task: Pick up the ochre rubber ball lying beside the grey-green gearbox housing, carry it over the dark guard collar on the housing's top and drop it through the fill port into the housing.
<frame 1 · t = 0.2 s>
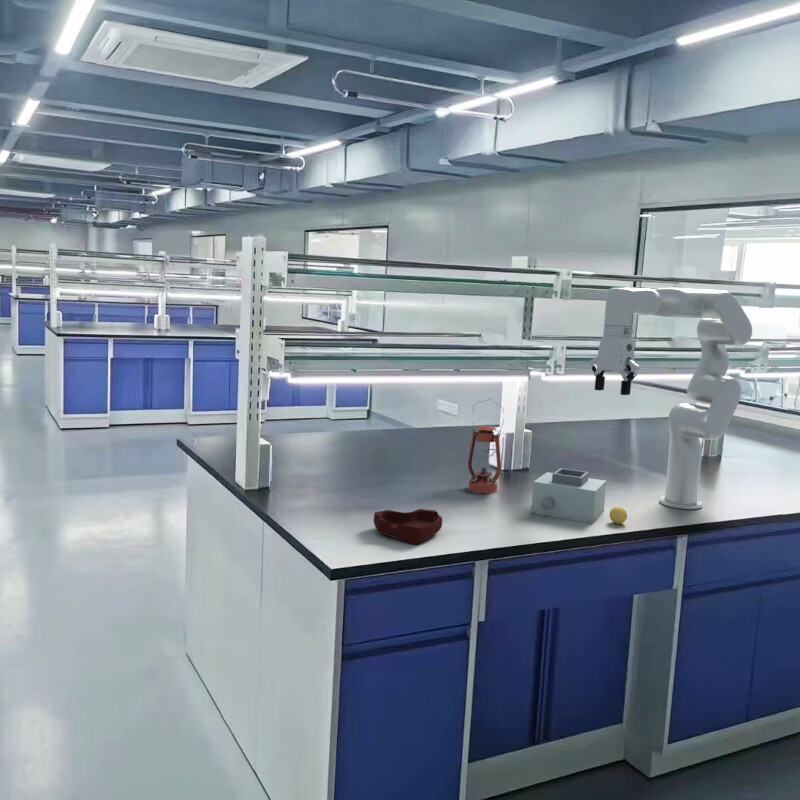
hand: (611, 392, 221), 36 cm above the countertop, tool pointing down, fingers open, 9 cm apart
housing: (568, 512, 230), on the countertop
lantern: (483, 490, 251), on the countertop
ball: (618, 515, 220), point 2 cm above the countertop
ashtray: (410, 537, 203), on the countertop
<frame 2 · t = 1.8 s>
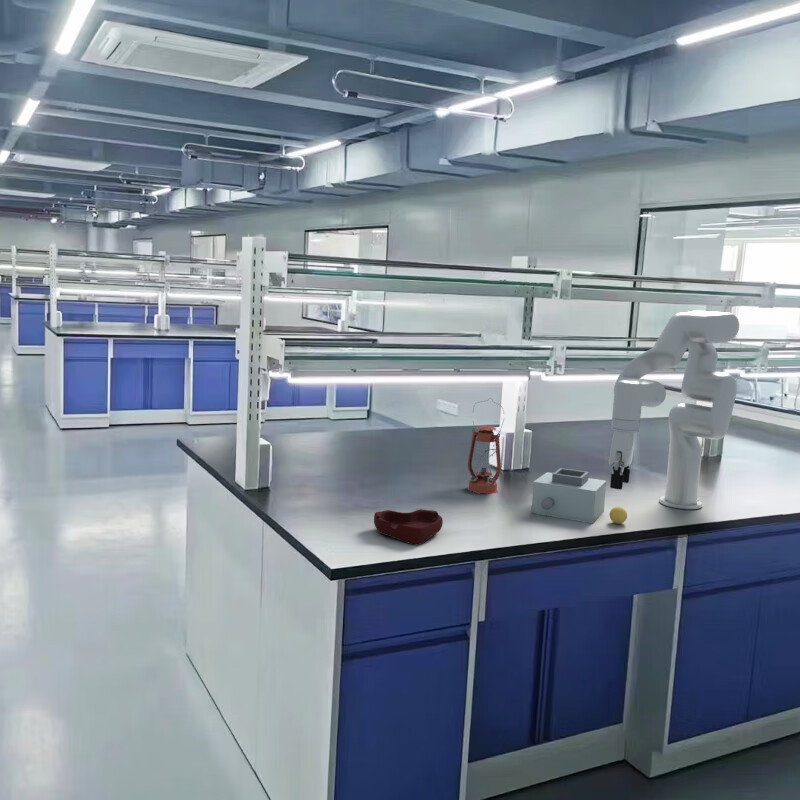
hand: (619, 485, 218), 11 cm above the countertop, tool pointing down, fingers open, 9 cm apart
nothing on the countertop moved.
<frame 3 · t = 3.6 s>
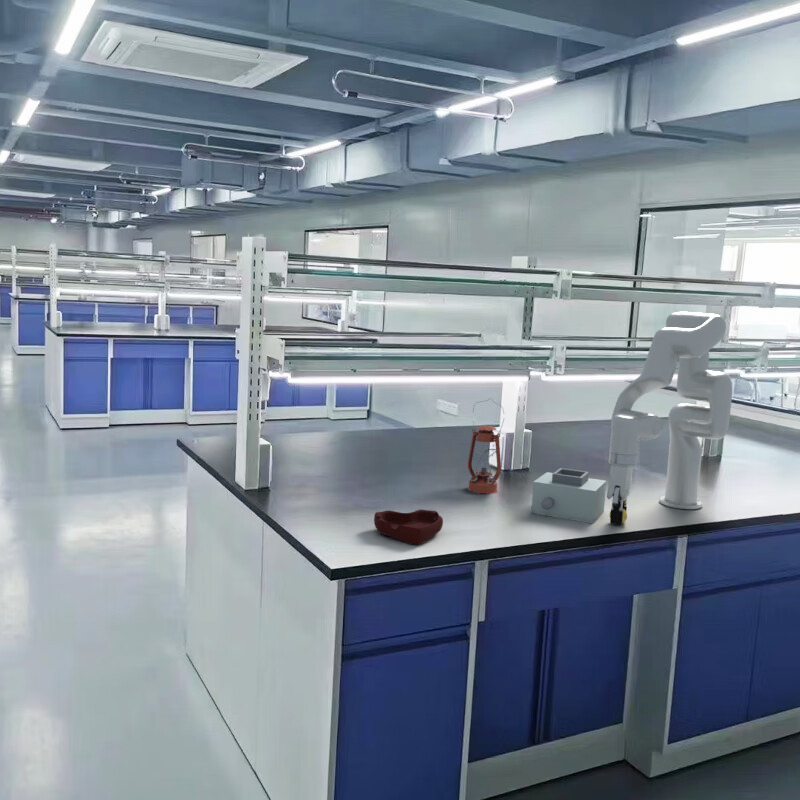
hand: (617, 521, 220), 1 cm above the countertop, tool pointing down, fingers closed on ball, 4 cm apart
ball: (618, 515, 220), point 2 cm above the countertop, touching gripper
everything else where it was.
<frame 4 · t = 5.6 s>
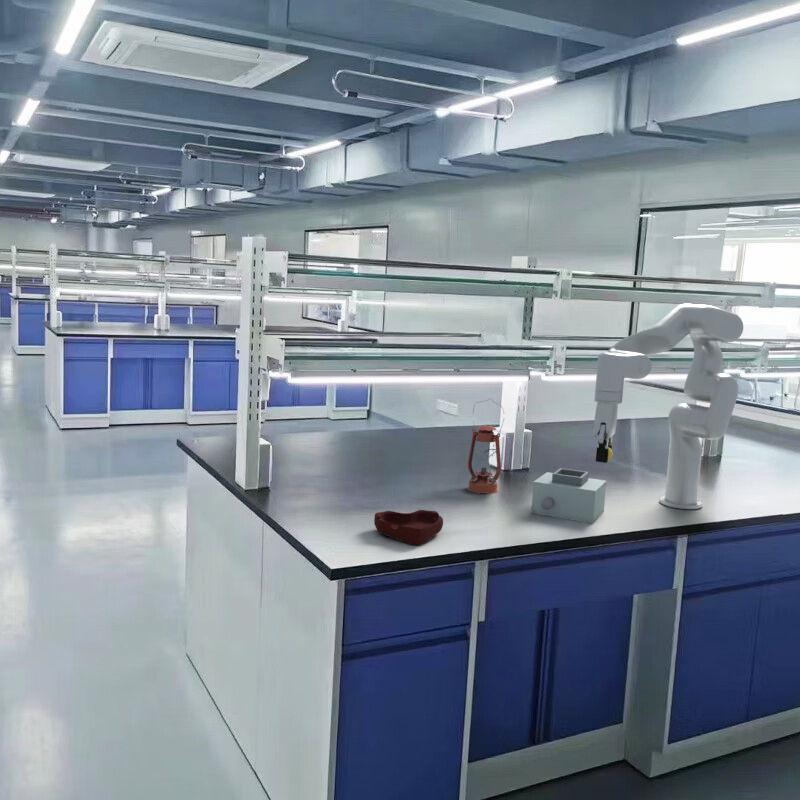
hand: (603, 459, 221), 18 cm above the countertop, tool pointing down, fingers closed on ball, 4 cm apart
ball: (603, 453, 221), point 19 cm above the countertop, touching gripper
everything else where it was.
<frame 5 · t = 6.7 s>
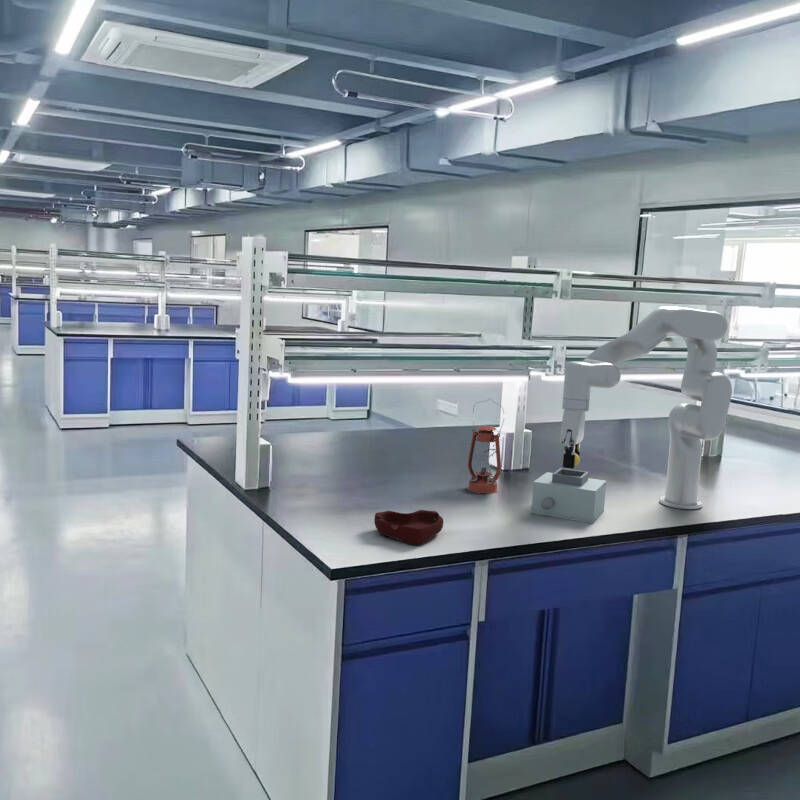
hand: (570, 465, 227), 14 cm above the countertop, tool pointing down, fingers closed on ball, 4 cm apart
ball: (571, 459, 227), point 16 cm above the countertop, touching gripper
everything else where it was.
when the fingers open (13 cm above the countertop, at t = 7.5 s): ball drops 12 cm, resting on housing.
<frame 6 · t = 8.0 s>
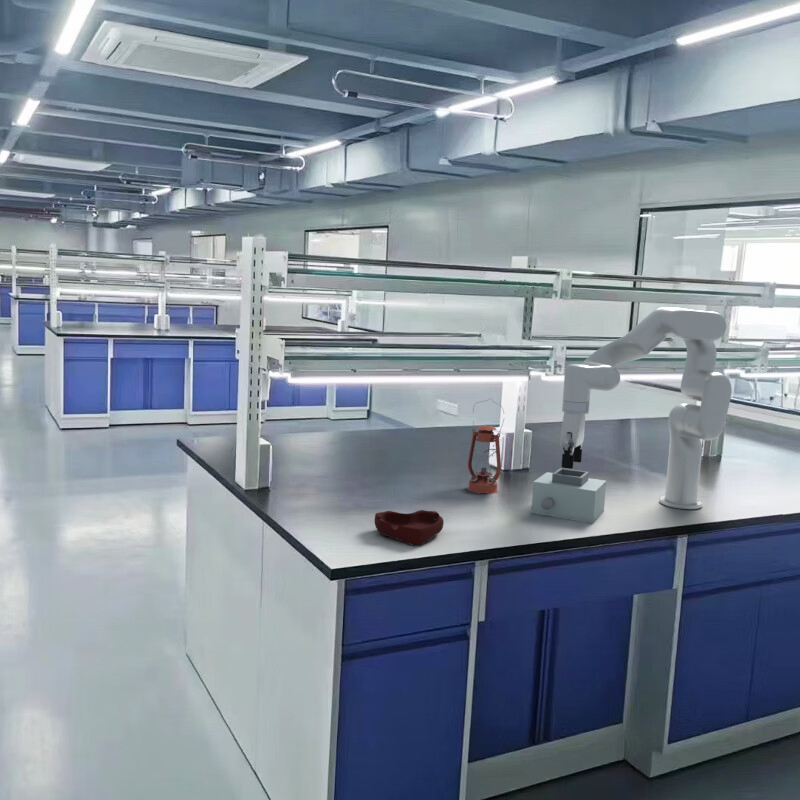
hand: (571, 464, 227), 14 cm above the countertop, tool pointing down, fingers open, 9 cm apart
ball: (568, 501, 229), point 3 cm above the countertop, touching housing
everything else where it was.
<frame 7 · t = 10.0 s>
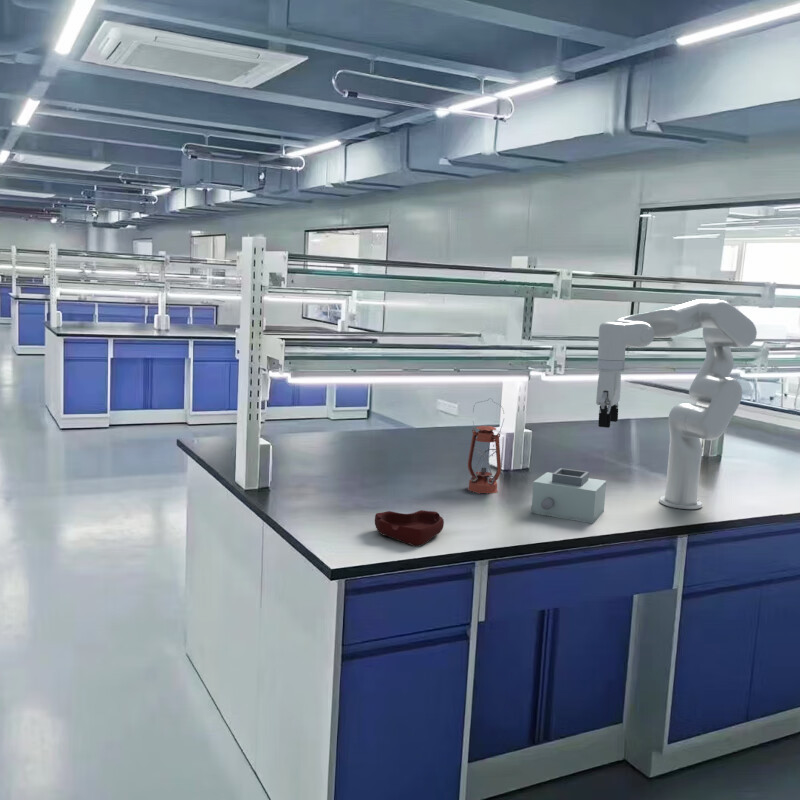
hand: (608, 424, 226), 27 cm above the countertop, tool pointing down, fingers open, 9 cm apart
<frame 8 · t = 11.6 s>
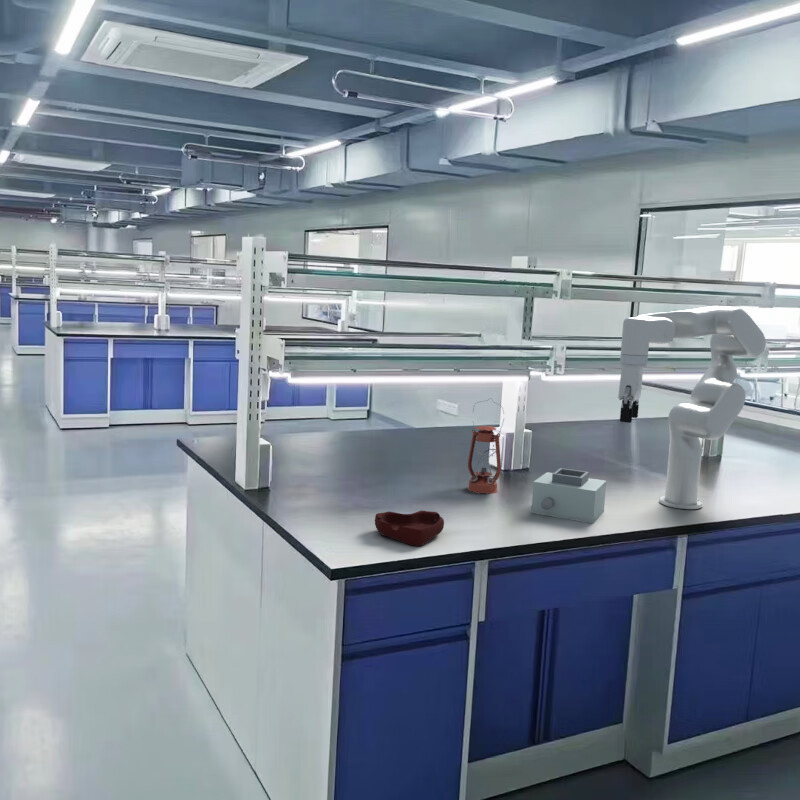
hand: (628, 419, 226), 28 cm above the countertop, tool pointing down, fingers open, 9 cm apart
at the end: ball inside the target area on the housing (0.1 cm from its centre), point 3.4 cm above the housing's base; the gripper is holding nothing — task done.
